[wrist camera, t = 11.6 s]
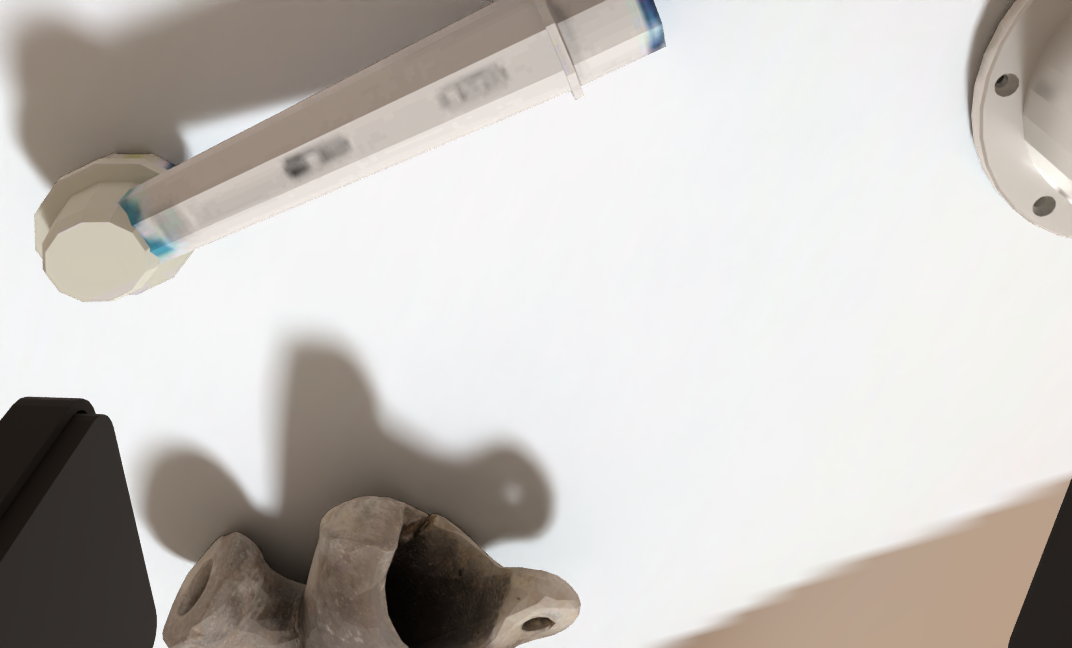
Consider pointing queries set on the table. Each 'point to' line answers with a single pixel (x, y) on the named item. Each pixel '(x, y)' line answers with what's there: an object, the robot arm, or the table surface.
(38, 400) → the robot arm
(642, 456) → the table surface
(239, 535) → the grey clay vessel
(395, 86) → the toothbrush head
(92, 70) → the table surface
